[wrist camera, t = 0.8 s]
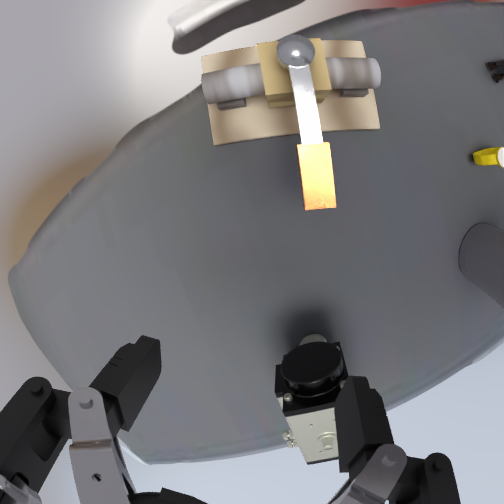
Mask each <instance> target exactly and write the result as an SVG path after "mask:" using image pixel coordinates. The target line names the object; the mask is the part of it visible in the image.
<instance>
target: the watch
mask: <svg viewBox="0 0 504 504" xmlns="http://www.w3.org/2000/svg"><path fill="white" fill-rule="evenodd" d="M473 157H474V162H475V163H476V164H477V165H495V164H498V165H499V166H500V167H503V168H504V147H496V148H487V149H484V150H480V151H477V152H474V153H473Z"/></svg>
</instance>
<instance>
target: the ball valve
mask: <svg viewBox="0 0 504 504" xmlns="http://www.w3.org/2000/svg"><path fill="white" fill-rule="evenodd" d="M347 377H348V373H347V369H346V365H345V361H344V357H343V353H342V350H341V346H340V342H335V343H332V344H331V343H329V342H328V341H326V338H324V337H323V336H322V335H320V334H312V335H309V336H306V337H304V338H303V339H302V341H301V342H300V344H299V346H298V347H296V348H295V349H293V350H292V351H290V352H289V353H288V354H287V355H284V359H283V361H282V363H281V364H280V365H276V375H275V394H276V396H277V399H278V401H279V403H280V405H281V408H282V411H283V414H284V416H285V418H286V420H287V422H288V425H289V427H290V429H291V430H289V433H288V430H285V431H283V438H284V440H287V446H288V447H289V448H292V447H293V445H294V447H298V446H299V448H300V450H301V452H302V454H303V456H304V458H305V460H306V462H307V464H308V465H309V464H315V463H321V462H326V461H331V460H337V459H339V456H338V444H337V434H336V424H335V415H334V406H335V402H336V399H337V397H338V395H339V393H340V391H341V389H342V387H343V385H344V383H345V381H346V379H347ZM289 437H290V438H289ZM292 439H293V441H292Z"/></svg>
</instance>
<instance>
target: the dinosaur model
mask: <svg viewBox="0 0 504 504" xmlns="http://www.w3.org/2000/svg"><path fill="white" fill-rule="evenodd" d="M486 64H487V66H488V68H489V69H490V71H493V70H494V69H495V68H497V67H499V66H504V60H500V61H498V62H488V63H486ZM493 76H494V80H495V81H496V83H499V81H500V80H502V79H504V74H494V75H493Z"/></svg>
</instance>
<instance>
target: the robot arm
mask: <svg viewBox="0 0 504 504" xmlns="http://www.w3.org/2000/svg"><path fill="white" fill-rule="evenodd" d="M459 265H460V268H461V271H462V273H463V274H464V275H465V276H466V277H467V278H469V279H470V280H471V281H472V282H474V283H475V284H476V285H477V286H478V287H479V288H481V289H482V290H483V291H484V292H485V293H487V294H488V295H489V296H490V297H491V298H493V299H494V300H495V301H496V302H497V303H498V304H499V305H501V306H502V307H503V308H504V232H503V231H502V230H499V229H497V228H495V227H493V226H490V225H488V224H485V223H480V224H477V225H475V226H474V227H472V228H471V229H470V230H469V232H468V233H467V234H466V236H465V238H464V240H463V242H462V245H461V248H460V253H459ZM160 373H161V350H160V341H159V340H157V339H154V338H151V337H147V336H144V335H142V336H141V337H140V338H139V339H138V340H137V342H136V343H135V344H131V343H128V344H126V345H124V346H123V347H121V348H119V350H118V351H117V352H116V353H115V354H114V356H113V358H111V359H110V361H109V362H108V364H106V366H105V367H104V368H103V369H102V371H101V372H100V373H99V374H98V376H97V377H96V378H95V379H94V381H93V382H92V383H91V384H90V386H89V387H80V388H77V389H75V390H74V391H73V392H66V391H61V390H57V389H53V388H52V386H51V384H50V382H49V381H48V380H47V379H45V378H43V377H32V378H30V379H28V380H27V381H26V382H25V383H24V384H23V385H22V386H21V388H20V389H19V390H18V391H17V392H16V394H15V395H14V396H13V397H12V399H11V400H10V401H9V402H8V403H7V405H6V406H5V407H4V408H3V410H2V411H1V412H0V504H42V502H41V499H40V497H39V495H38V493H39V491H40V489H41V487H42V485H43V483H44V481H45V479H46V478H47V476H48V474H49V472H50V470H51V468H52V467H53V464H54V463H55V461H56V459H57V457H58V456H59V453H60V452H61V451H62V449H63V447H64V445H65V444H66V442H67V440H68V439H72V442H73V443H72V445H70V446H69V452H70V458H71V464H72V469H73V474H74V479H75V483H76V487H77V492H78V496H79V499H80V503H81V504H207V503H205V502H203V501H201V500H199V499H197V498H195V497H192V496H189V495H186V494H182V493H179V492H175V491H172V490H169V489H166V488H162V490H161V492H160V493H159V492H143V493H136V490H135V487H134V485H133V483H132V480H131V478H130V476H129V474H128V471H127V468H126V465H125V462H124V459H123V455H122V452H121V449H120V445H119V442H118V438H117V433H118V431H119V430H120V428H121V429H123V430H125V431H128V432H129V430H130V428H131V427H132V425H133V423H134V421H135V419H136V418H137V416H138V414H139V412H140V410H141V409H142V407H143V405H144V403H145V401H146V400H147V398H148V396H149V394H150V392H151V391H152V389H153V387H154V385H155V384H156V382H157V380H158V378H159V376H160ZM334 415H335V424H336V434H337V444H338V456H339V468H340V473H341V472H349V479H348V480H347V481H346V482H345V483H344V484H343V486H342V487H341V488H340V489H339V490H338V492H337V493H336V494H335V496H333V498H332V499H331V500H330V501H329V502H328V503H327V504H384V503H385V501H386V500H389V504H461V503H460V498H459V493H458V489H457V484H456V480H455V476H454V472H453V468H452V464H451V461H450V459H449V458H448V457H447V456H446V455H444V454H442V453H432V454H430V455H429V456H428V457H427V458H426V459H420V458H414V457H409V456H406V453H405V452H404V450H403V449H402V448H401V447H399V446H397V445H395V444H394V441H393V437H392V433H391V429H390V425H389V421H388V418H387V416H386V411H385V409H384V404H383V400H382V397H381V396H380V395H379V393H378V392H377V391H376V389H370V387H369V383H368V380H367V378H366V377H362V376H348V377H347V379H346V381H345V383H344V385H343V387H342V389H341V391H340V393H339V395H338V397H337V399H336V402H335V406H334Z"/></svg>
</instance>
